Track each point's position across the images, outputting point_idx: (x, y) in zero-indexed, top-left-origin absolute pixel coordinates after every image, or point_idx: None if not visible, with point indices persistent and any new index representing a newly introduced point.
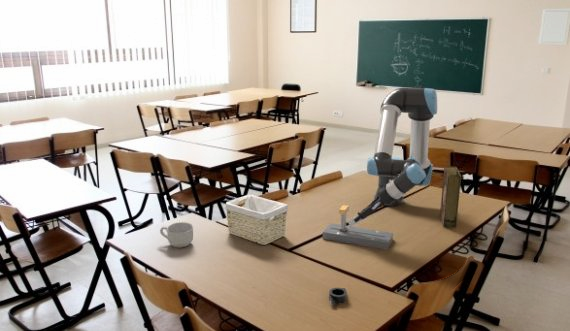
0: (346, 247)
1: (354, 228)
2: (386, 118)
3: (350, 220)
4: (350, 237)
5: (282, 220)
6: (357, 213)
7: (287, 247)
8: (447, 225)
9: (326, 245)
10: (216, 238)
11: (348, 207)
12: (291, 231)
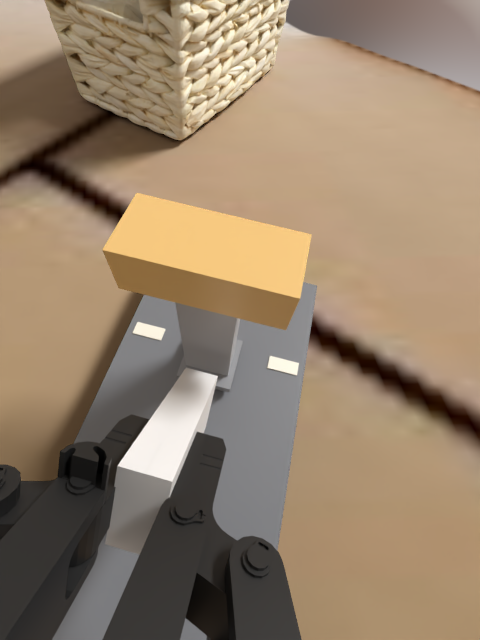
0: (31, 407)
1: (260, 450)
2: None
3: (175, 384)
4: (87, 422)
5: (152, 47)
6: (85, 444)
7: (62, 157)
8: None
9: (73, 295)
10: None
11: (273, 302)
12: (238, 163)
